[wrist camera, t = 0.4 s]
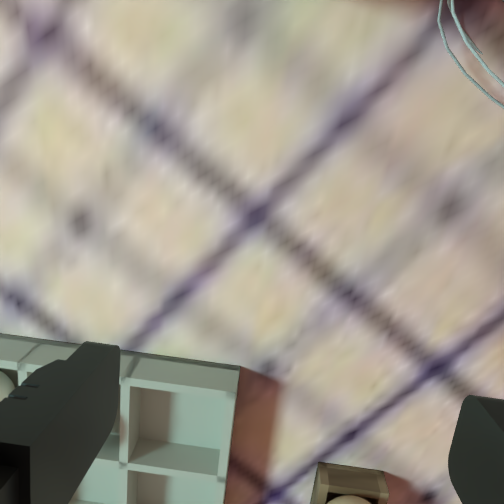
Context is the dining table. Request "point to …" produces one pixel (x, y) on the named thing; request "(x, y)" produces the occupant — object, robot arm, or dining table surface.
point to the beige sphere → (348, 500)
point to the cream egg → (5, 386)
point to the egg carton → (151, 425)
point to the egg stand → (348, 484)
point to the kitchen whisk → (466, 39)
